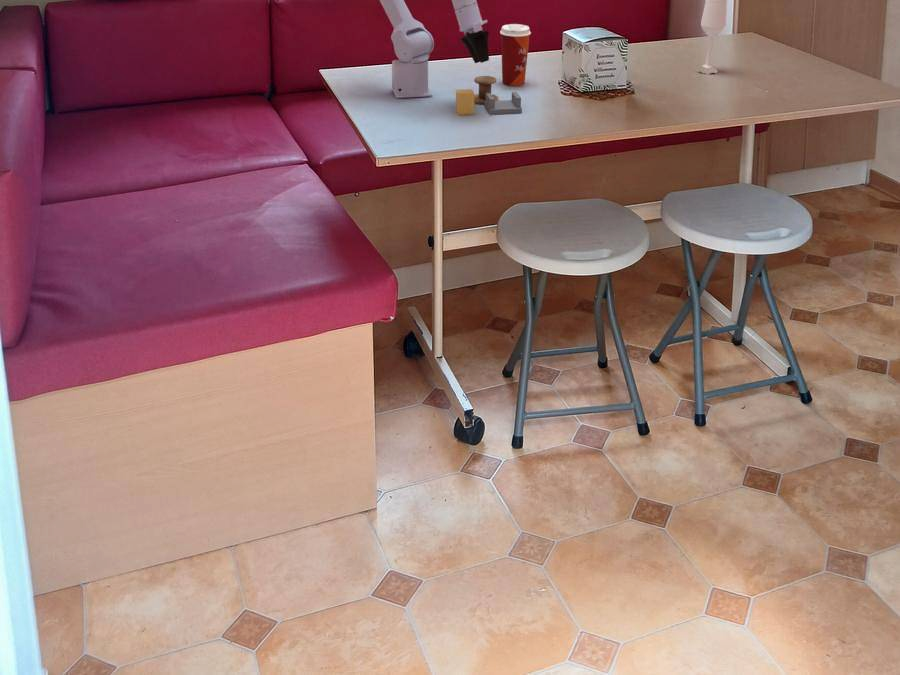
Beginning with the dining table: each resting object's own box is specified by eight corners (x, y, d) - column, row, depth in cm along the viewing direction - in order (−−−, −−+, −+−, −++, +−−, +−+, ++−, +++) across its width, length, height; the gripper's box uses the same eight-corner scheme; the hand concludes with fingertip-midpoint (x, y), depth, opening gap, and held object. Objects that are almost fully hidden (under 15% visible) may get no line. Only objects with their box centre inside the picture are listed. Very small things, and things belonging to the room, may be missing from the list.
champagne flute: (695, 73, 292) (706, -15, 279) (694, 67, 297) (705, -20, 285) (719, 75, 291) (732, -14, 279) (718, 68, 296) (730, -19, 284)
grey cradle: (490, 114, 259) (490, 100, 257) (484, 106, 265) (484, 92, 263) (521, 113, 260) (522, 99, 258) (515, 104, 266) (515, 90, 264)
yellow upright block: (458, 115, 258) (458, 93, 255) (455, 111, 261) (456, 89, 258) (473, 114, 259) (474, 92, 256) (471, 110, 261) (471, 89, 259)
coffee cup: (526, 88, 278) (529, 31, 270) (496, 86, 279) (497, 30, 272) (530, 79, 285) (533, 24, 278) (500, 77, 286) (502, 22, 279)
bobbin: (474, 105, 265) (474, 83, 262) (468, 97, 271) (469, 75, 268) (500, 103, 266) (501, 82, 263) (494, 95, 272) (495, 74, 269)
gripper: (486, -1, 246) (503, 56, 250) (476, 3, 260) (491, 57, 264) (458, 8, 246) (475, 65, 250) (449, 12, 260) (465, 66, 264)
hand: (482, 61), depth 257 cm, fingers open, 7 cm apart
